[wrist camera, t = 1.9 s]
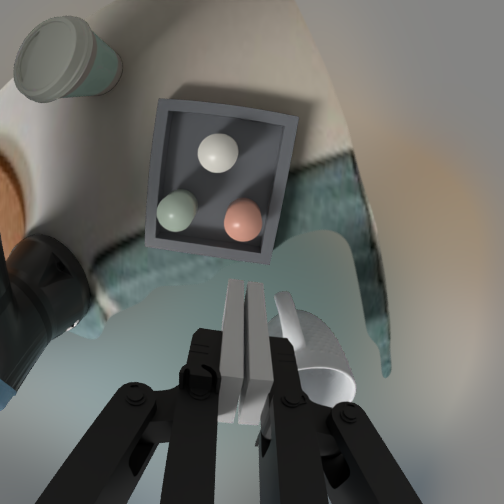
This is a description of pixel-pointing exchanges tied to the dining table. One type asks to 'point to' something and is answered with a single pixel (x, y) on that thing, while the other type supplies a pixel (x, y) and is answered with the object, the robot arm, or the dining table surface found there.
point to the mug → (314, 353)
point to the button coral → (243, 220)
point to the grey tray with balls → (219, 175)
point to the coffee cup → (65, 62)
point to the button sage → (177, 210)
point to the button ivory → (218, 153)
